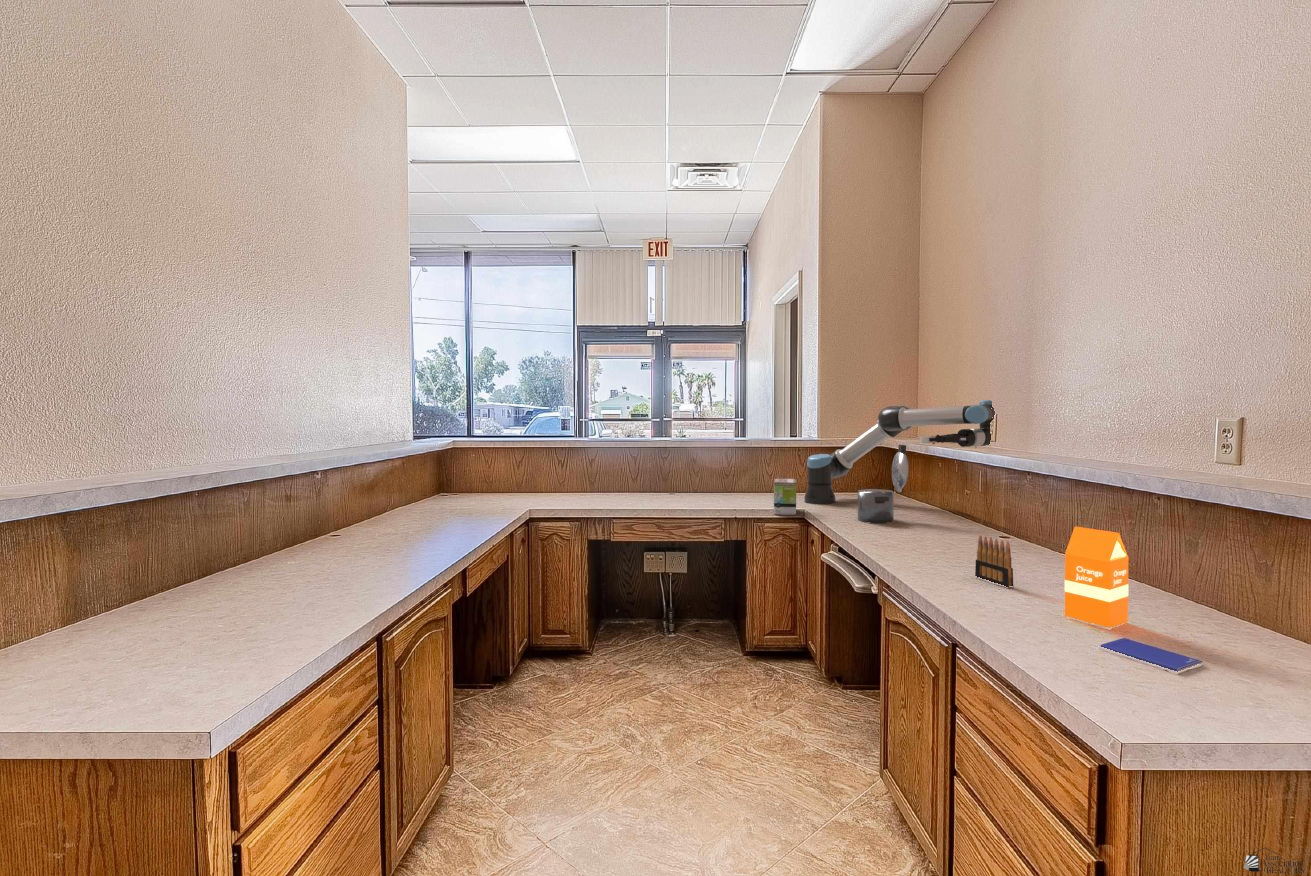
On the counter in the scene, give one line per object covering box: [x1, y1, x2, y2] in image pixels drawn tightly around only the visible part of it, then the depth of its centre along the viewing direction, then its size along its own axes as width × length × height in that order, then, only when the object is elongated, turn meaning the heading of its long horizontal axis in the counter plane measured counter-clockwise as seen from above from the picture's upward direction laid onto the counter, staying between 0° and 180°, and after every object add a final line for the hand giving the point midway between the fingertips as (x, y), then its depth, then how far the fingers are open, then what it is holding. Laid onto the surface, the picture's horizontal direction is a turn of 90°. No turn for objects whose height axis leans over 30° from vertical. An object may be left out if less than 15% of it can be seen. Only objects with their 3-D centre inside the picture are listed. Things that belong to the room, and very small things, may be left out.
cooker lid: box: [891, 444, 910, 493], centre depth 248 cm, size 15×19×3 cm
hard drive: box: [1099, 637, 1203, 672], centre depth 111 cm, size 2×8×12 cm
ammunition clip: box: [974, 534, 1014, 587], centre depth 159 cm, size 11×2×12 cm, turn 17°
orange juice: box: [1064, 526, 1129, 628], centre depth 130 cm, size 8×9×20 cm
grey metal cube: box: [857, 488, 895, 524], centre depth 249 cm, size 18×14×12 cm
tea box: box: [773, 478, 797, 516], centre depth 274 cm, size 15×10×15 cm, turn 168°
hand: (920, 439), depth 248 cm, fingers closed
